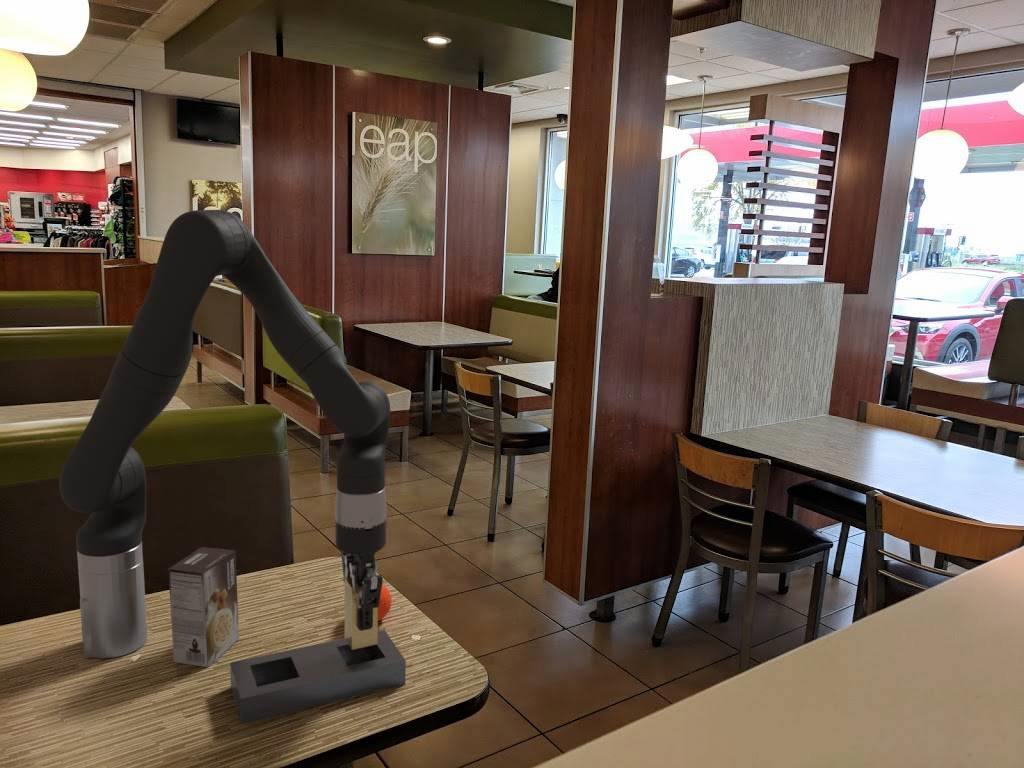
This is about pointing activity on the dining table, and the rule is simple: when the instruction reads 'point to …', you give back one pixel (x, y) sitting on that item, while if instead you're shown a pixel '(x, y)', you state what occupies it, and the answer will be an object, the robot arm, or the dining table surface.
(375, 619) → the peg
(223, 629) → the coffee box
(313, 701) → the rail
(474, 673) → the dining table surface
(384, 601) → the clementine
